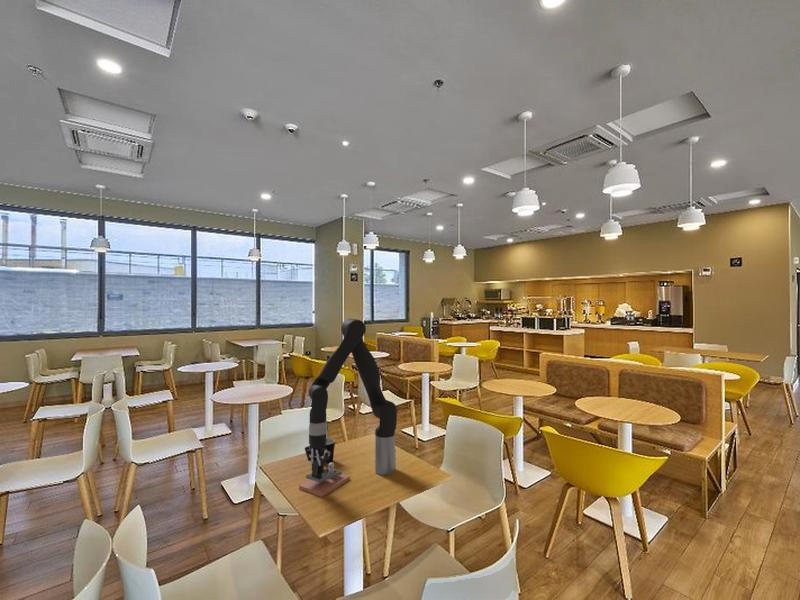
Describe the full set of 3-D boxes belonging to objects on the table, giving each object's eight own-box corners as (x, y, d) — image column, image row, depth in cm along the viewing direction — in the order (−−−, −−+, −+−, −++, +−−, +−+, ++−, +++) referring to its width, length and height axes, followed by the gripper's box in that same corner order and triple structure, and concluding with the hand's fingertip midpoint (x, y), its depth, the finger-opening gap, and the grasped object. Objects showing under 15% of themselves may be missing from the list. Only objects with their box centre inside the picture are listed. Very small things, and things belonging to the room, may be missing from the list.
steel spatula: (329, 470, 169) (330, 454, 170) (341, 474, 165) (343, 457, 166) (305, 478, 157) (307, 460, 158) (318, 482, 153) (320, 464, 154)
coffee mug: (338, 459, 187) (338, 439, 188) (328, 466, 180) (328, 445, 180) (319, 455, 192) (319, 436, 193) (309, 462, 185) (309, 442, 185)
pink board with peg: (328, 472, 173) (328, 455, 173) (349, 479, 166) (349, 461, 166) (299, 489, 157) (299, 470, 157) (321, 497, 150) (321, 477, 151)
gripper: (336, 432, 158) (336, 473, 157) (312, 426, 165) (312, 465, 165) (324, 437, 151) (323, 480, 151) (299, 431, 159) (299, 472, 158)
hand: (317, 472), depth 158 cm, fingers closed on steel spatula, 3 cm apart
